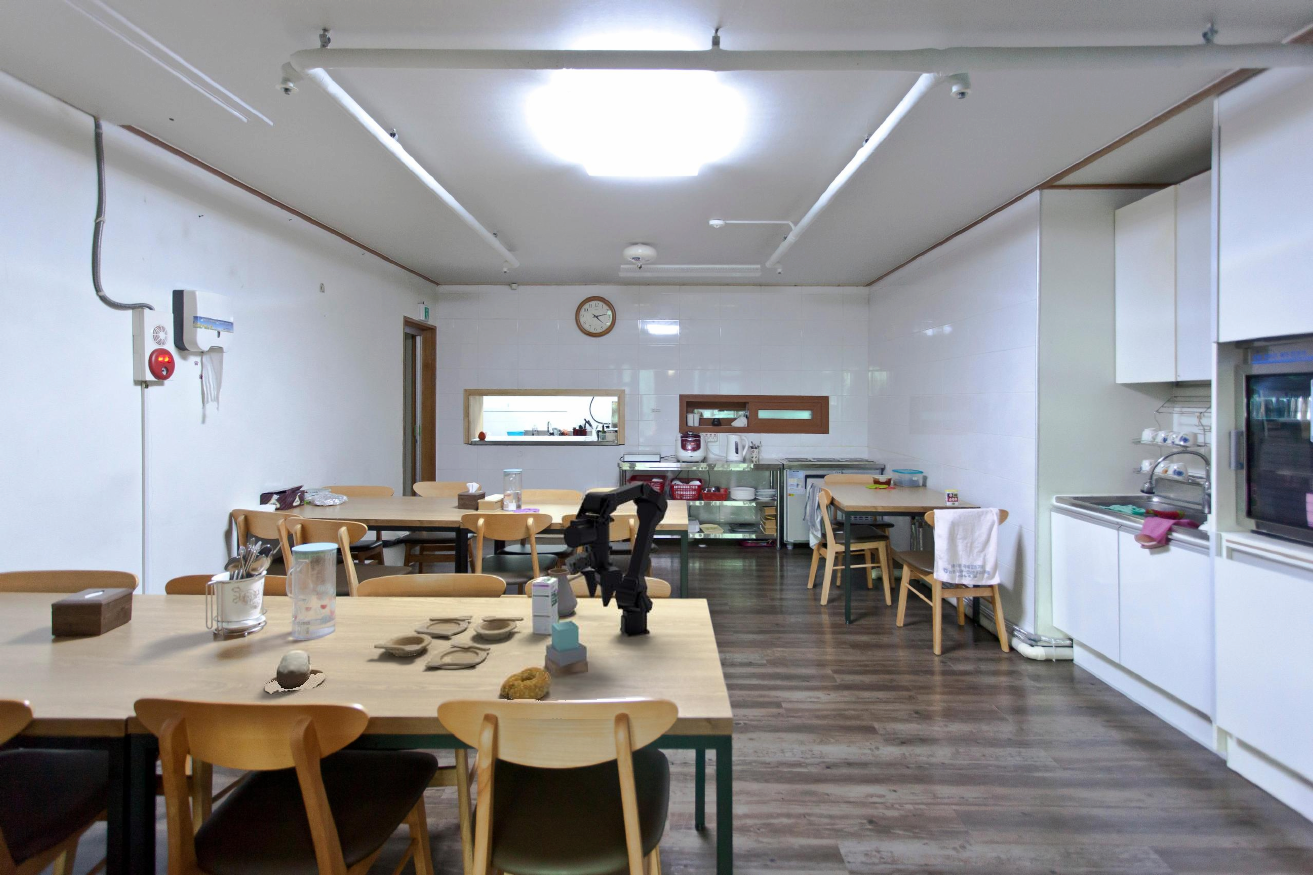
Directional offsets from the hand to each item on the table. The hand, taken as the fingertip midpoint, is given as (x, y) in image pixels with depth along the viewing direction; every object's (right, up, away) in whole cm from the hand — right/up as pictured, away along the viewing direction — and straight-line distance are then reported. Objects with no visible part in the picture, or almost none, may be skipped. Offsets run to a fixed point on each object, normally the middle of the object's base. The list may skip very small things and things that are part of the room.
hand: (598, 601), depth 162 cm
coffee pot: (-10, -12, +31) cm, 35 cm away
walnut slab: (-7, -14, -11) cm, 19 cm away
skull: (-66, -14, -20) cm, 71 cm away
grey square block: (-7, -11, -11) cm, 17 cm away
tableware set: (-39, -13, +5) cm, 42 cm away
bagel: (-14, -14, -25) cm, 31 cm away
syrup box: (-16, -12, +15) cm, 25 cm away
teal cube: (-7, -8, -12) cm, 16 cm away
